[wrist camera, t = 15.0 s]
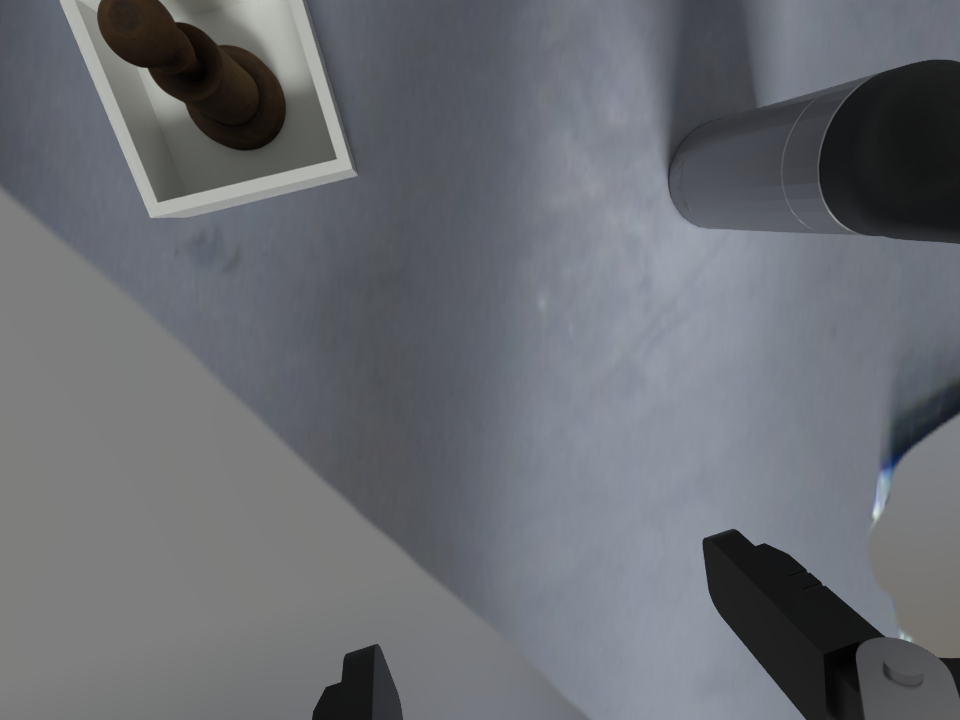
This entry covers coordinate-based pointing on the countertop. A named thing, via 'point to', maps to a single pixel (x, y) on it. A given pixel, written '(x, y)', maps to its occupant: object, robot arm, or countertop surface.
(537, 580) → the countertop surface
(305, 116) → the box
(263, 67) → the mortar and pestle
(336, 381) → the countertop surface
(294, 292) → the countertop surface
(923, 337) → the countertop surface
